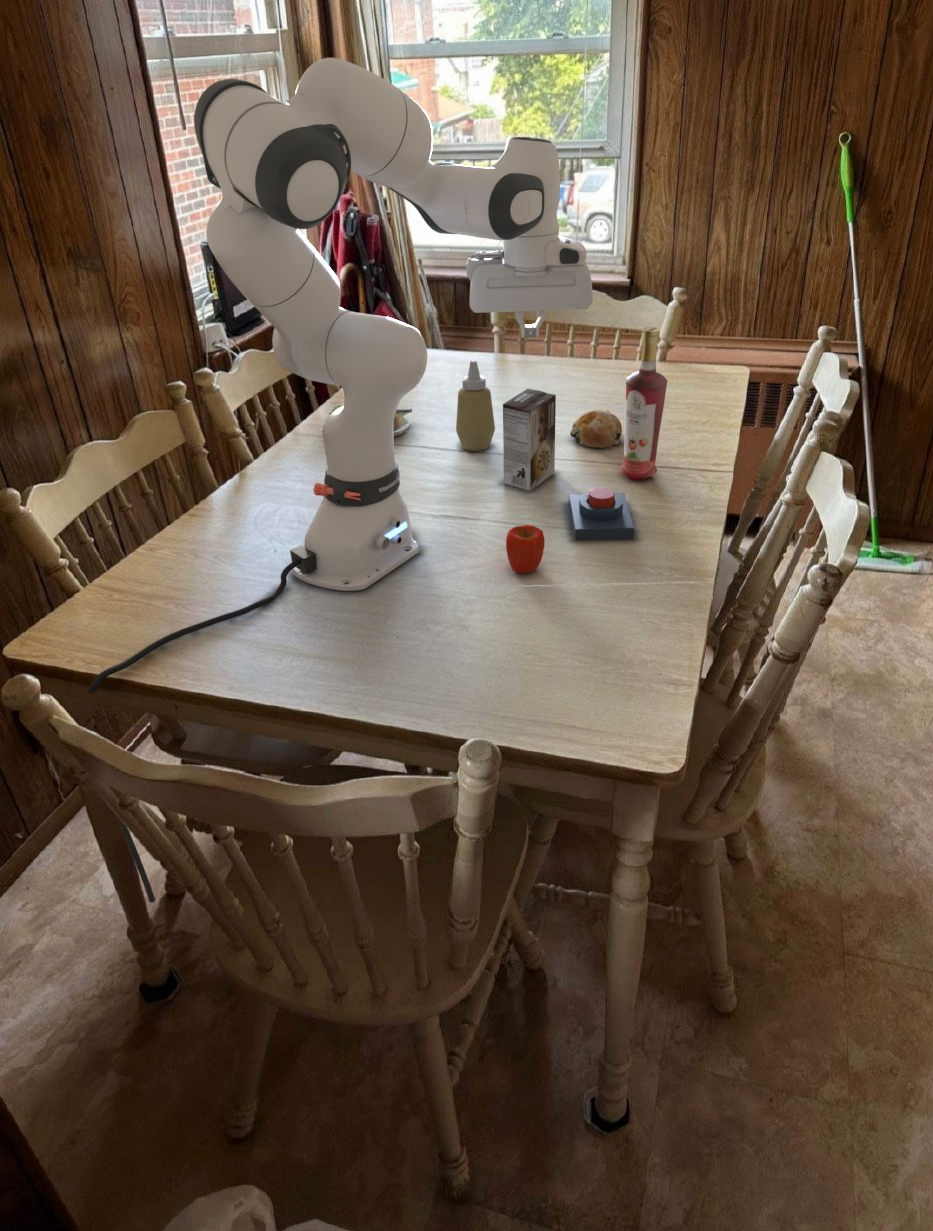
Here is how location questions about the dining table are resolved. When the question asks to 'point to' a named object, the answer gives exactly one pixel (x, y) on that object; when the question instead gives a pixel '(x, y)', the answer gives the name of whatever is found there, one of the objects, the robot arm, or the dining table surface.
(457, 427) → the squeeze bottle
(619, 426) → the bread roll
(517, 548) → the apple
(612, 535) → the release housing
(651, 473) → the liquor
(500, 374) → the dining table surface
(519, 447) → the coffee box
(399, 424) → the salad plate
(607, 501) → the lid button
